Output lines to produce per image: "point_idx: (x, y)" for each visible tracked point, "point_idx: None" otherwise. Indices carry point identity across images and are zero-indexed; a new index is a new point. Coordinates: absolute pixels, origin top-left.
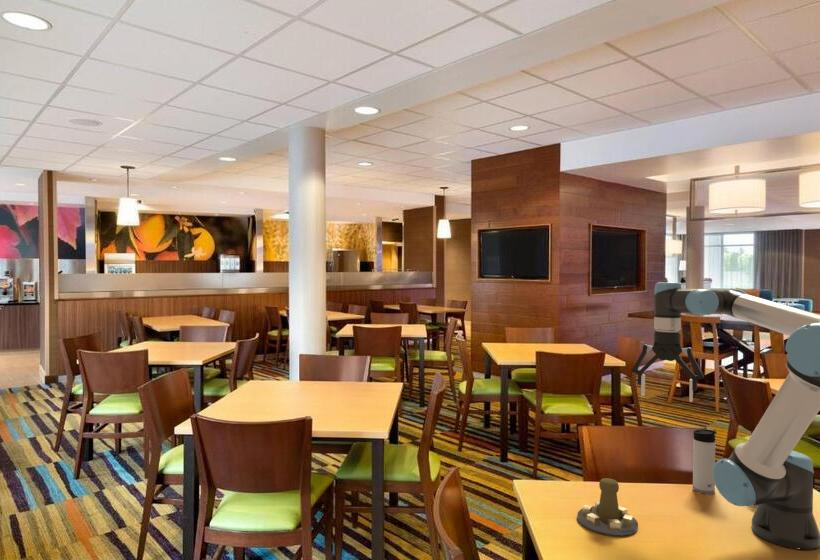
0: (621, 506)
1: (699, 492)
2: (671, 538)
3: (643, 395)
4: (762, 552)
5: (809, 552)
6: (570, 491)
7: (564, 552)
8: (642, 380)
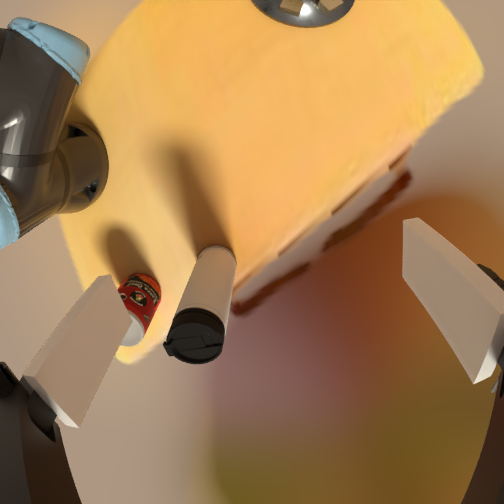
0: (294, 10)
1: (218, 245)
2: (190, 5)
3: (406, 222)
4: None
5: None
6: (414, 71)
7: None
8: (481, 278)
